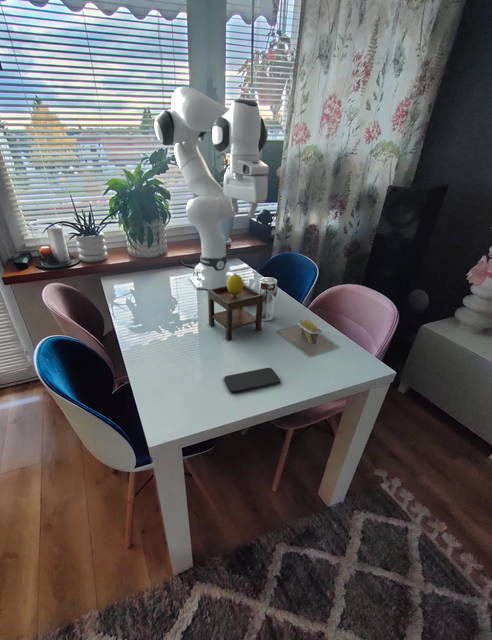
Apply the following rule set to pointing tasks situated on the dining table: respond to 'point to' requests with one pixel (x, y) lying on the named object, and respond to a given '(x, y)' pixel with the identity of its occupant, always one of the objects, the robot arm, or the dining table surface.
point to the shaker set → (254, 285)
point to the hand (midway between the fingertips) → (242, 215)
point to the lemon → (235, 284)
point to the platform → (307, 338)
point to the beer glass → (268, 296)
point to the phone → (251, 380)
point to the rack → (235, 308)
